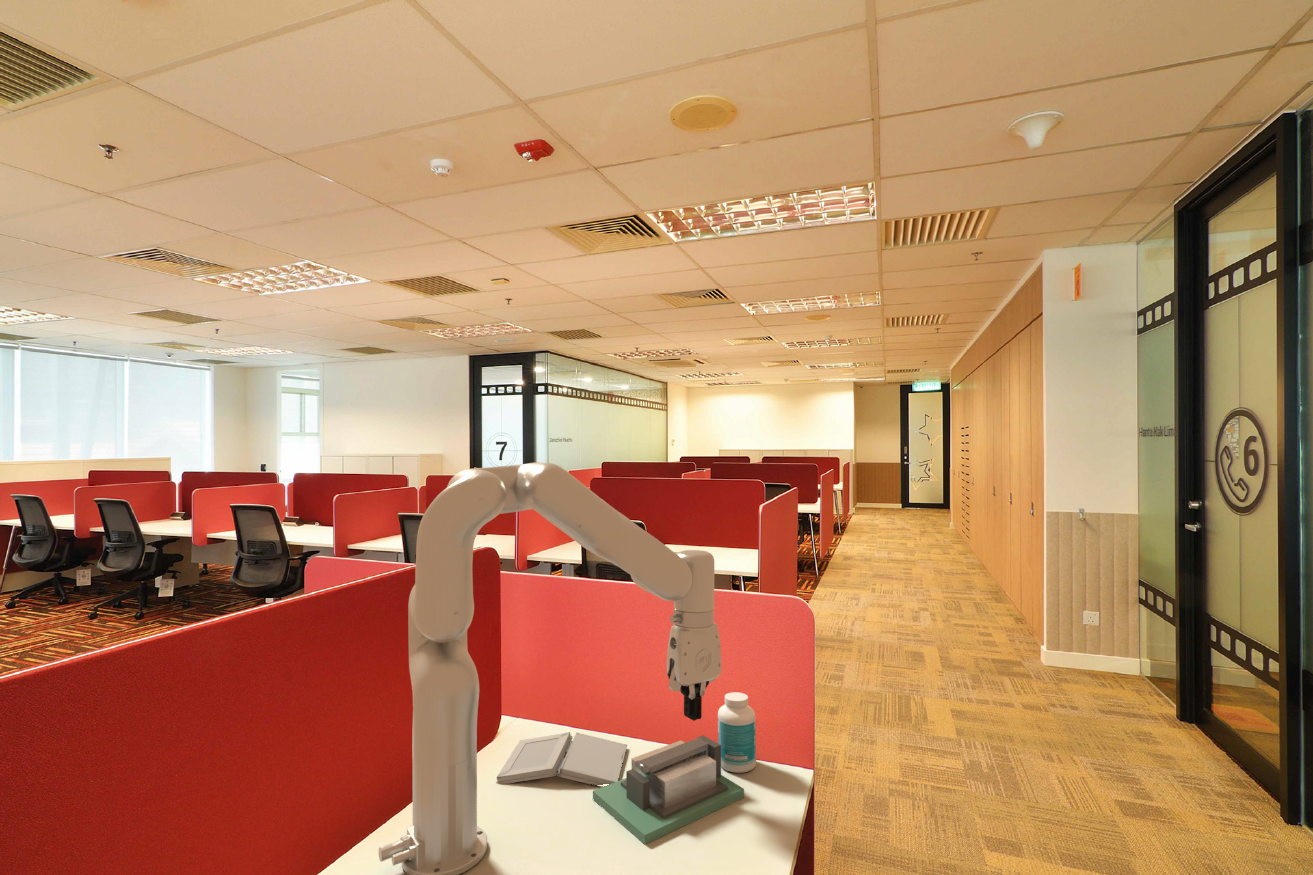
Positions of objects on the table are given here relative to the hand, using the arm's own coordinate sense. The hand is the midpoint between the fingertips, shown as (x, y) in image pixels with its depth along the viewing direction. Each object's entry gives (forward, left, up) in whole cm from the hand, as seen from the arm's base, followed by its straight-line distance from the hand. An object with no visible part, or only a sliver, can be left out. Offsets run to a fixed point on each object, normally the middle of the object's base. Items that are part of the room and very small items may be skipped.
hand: (692, 716), depth 115 cm
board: (-6, 0, -13) cm, 14 cm away
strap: (-5, 0, -8) cm, 9 cm away
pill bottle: (+12, +1, -13) cm, 18 cm away
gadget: (-15, +22, -14) cm, 30 cm away
